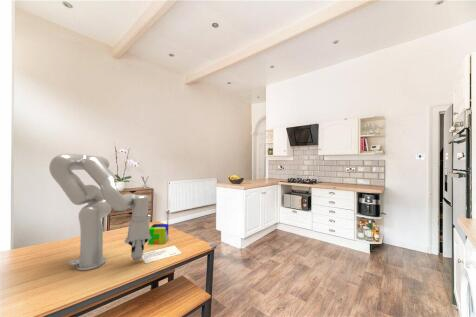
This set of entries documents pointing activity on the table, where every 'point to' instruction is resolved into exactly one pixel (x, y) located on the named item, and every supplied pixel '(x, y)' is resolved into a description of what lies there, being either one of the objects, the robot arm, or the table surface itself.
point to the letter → (160, 254)
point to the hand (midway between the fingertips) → (137, 252)
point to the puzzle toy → (158, 234)
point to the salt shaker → (137, 250)
